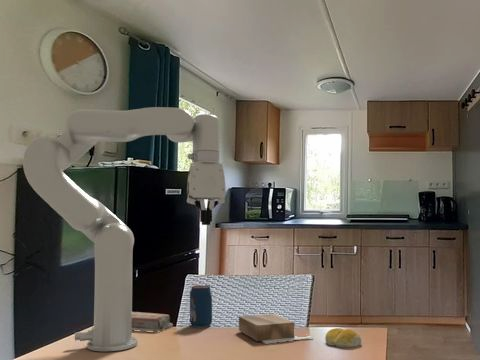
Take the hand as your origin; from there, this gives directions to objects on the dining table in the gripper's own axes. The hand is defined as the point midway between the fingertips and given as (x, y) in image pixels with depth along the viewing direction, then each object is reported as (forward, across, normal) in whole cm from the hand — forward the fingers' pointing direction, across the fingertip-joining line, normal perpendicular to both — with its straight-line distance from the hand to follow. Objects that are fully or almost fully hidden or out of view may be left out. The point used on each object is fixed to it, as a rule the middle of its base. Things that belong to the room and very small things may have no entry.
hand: (206, 224), depth 126 cm
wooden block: (+29, +12, 0) cm, 31 cm away
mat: (+31, +20, 0) cm, 37 cm away
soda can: (+31, +4, +20) cm, 37 cm away
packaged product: (+32, -14, +24) cm, 42 cm away
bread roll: (+32, +32, -16) cm, 48 cm away
